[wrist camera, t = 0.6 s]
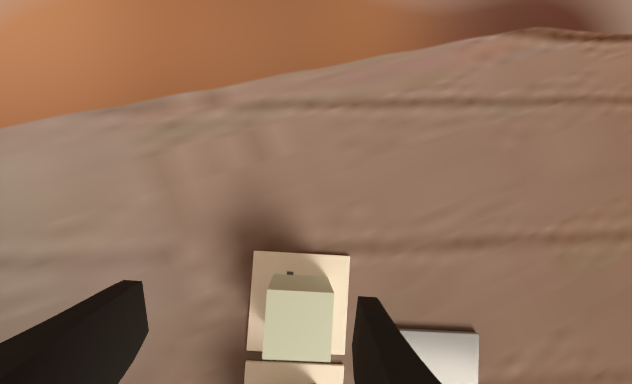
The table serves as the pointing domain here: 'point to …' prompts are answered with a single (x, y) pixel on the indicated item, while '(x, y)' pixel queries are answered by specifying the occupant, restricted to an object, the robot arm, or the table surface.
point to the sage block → (298, 318)
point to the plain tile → (292, 373)
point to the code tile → (306, 266)
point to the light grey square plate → (447, 353)
